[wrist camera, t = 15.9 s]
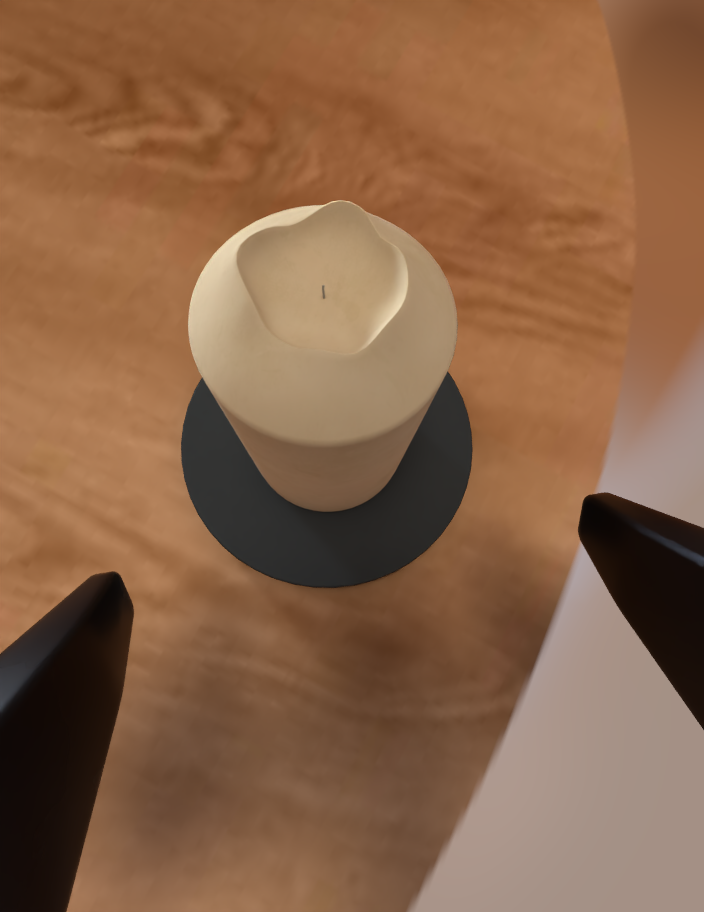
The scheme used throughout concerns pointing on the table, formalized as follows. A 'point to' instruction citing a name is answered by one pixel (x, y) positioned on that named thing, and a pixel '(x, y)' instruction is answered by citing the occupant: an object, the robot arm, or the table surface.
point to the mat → (327, 533)
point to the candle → (323, 347)
